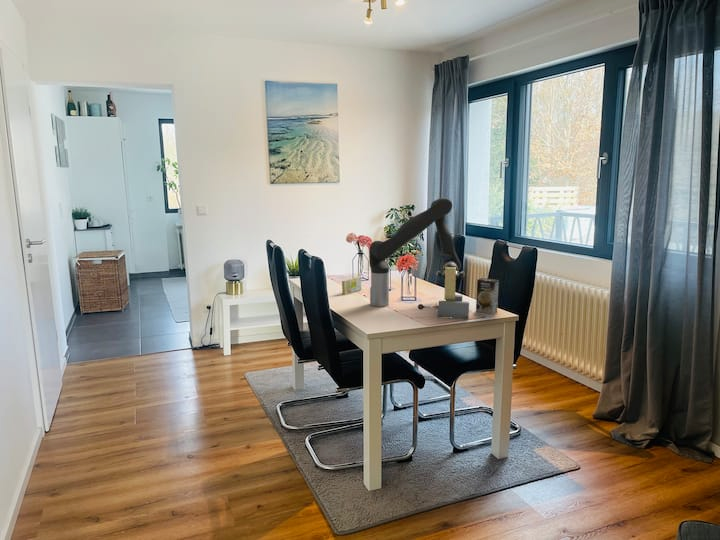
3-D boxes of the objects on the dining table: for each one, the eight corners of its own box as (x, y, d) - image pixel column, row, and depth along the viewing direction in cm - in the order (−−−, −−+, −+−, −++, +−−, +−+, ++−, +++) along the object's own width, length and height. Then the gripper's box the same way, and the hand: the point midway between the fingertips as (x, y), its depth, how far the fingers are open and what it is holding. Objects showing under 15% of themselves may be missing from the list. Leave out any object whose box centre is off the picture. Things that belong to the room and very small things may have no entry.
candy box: (358, 290, 317) (358, 276, 316) (361, 290, 316) (361, 276, 315) (341, 295, 304) (341, 280, 303) (344, 295, 303) (344, 281, 302)
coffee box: (475, 311, 266) (476, 279, 263) (480, 309, 271) (481, 277, 268) (493, 314, 261) (494, 281, 258) (497, 311, 266) (499, 279, 263)
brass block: (444, 299, 258) (445, 268, 255) (444, 297, 262) (445, 266, 260) (455, 299, 257) (455, 269, 254) (455, 297, 262) (455, 267, 259)
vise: (417, 316, 256) (417, 301, 255) (419, 309, 271) (419, 294, 269) (468, 318, 252) (469, 303, 251) (468, 311, 266) (468, 296, 265)
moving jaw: (445, 311, 266) (445, 296, 264) (445, 309, 270) (446, 294, 268) (461, 312, 264) (462, 297, 263) (461, 310, 268) (462, 295, 267)
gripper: (436, 263, 272) (435, 268, 256) (465, 263, 270) (466, 269, 253) (436, 277, 273) (435, 284, 257) (464, 278, 271) (465, 285, 254)
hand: (450, 277), depth 255 cm, fingers closed on brass block, 5 cm apart
